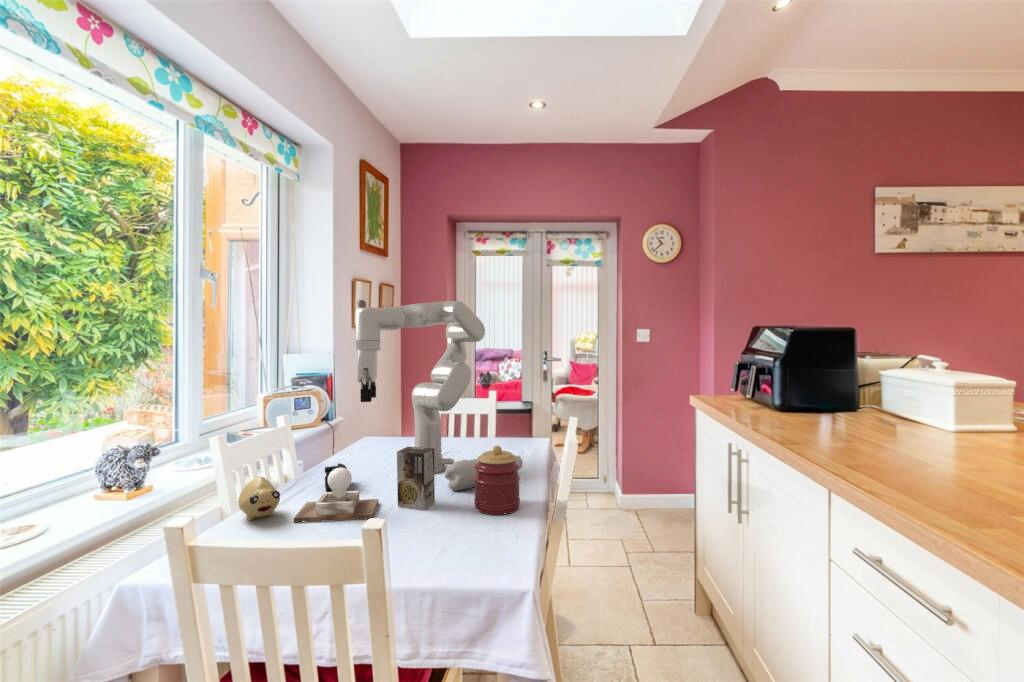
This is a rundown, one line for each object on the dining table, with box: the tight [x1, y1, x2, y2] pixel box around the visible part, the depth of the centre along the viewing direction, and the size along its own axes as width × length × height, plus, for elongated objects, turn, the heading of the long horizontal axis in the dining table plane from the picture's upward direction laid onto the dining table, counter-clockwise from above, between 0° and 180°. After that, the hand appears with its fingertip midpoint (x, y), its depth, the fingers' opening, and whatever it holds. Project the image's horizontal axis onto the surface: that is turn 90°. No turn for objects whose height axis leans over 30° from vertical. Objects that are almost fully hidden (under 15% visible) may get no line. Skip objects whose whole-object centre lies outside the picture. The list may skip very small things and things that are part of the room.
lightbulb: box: [328, 467, 353, 502], centre depth 135 cm, size 6×6×11 cm
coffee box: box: [396, 446, 436, 511], centre depth 140 cm, size 9×6×16 cm
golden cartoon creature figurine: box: [238, 476, 281, 521], centre depth 131 cm, size 10×12×11 cm
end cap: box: [324, 463, 348, 492], centre depth 156 cm, size 10×7×7 cm
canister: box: [473, 445, 521, 515], centre depth 138 cm, size 13×13×18 cm
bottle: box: [444, 455, 523, 492], centre depth 163 cm, size 9×9×30 cm
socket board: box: [293, 490, 380, 523], centre depth 135 cm, size 20×12×4 cm, turn 98°
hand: (368, 399), depth 156 cm, fingers open, 9 cm apart
